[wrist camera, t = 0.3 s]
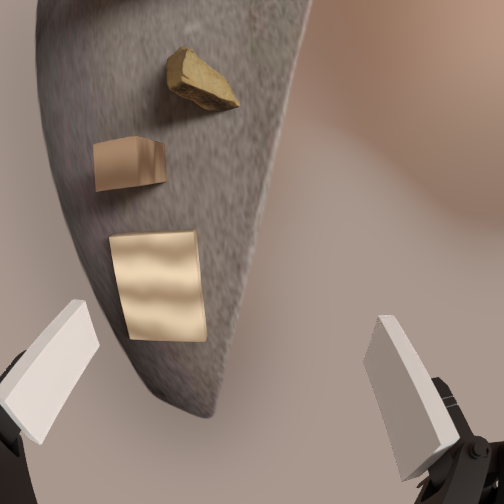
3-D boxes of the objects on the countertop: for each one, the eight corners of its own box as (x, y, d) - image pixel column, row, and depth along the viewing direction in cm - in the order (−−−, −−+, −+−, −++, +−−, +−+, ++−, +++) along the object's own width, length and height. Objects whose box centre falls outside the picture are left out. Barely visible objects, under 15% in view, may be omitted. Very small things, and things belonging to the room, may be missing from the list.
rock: (151, 48, 27) (147, 113, 29) (178, 11, 21) (175, 83, 22) (221, 60, 34) (224, 120, 35) (258, 33, 27) (264, 99, 28)
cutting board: (115, 233, 37) (109, 237, 35) (196, 228, 37) (193, 232, 35) (134, 332, 41) (130, 339, 39) (207, 334, 41) (205, 341, 39)
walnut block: (130, 148, 33) (93, 144, 24) (164, 143, 33) (136, 135, 24) (132, 185, 35) (96, 191, 25) (166, 181, 35) (138, 186, 25)
